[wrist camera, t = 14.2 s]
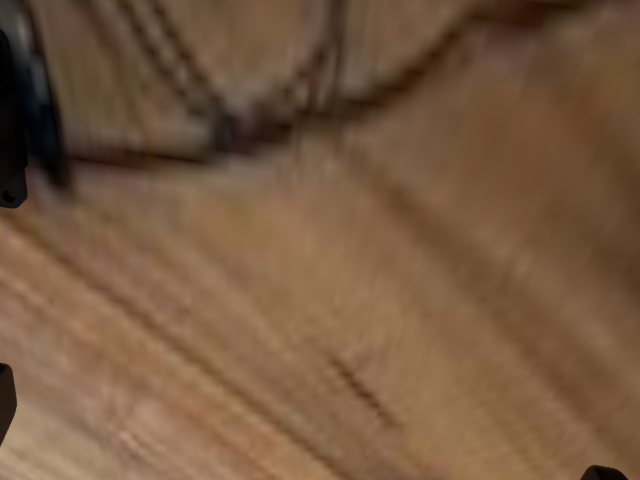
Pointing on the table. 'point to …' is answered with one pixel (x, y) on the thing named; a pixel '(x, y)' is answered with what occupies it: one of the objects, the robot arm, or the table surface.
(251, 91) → the table surface
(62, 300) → the table surface
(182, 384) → the table surface
